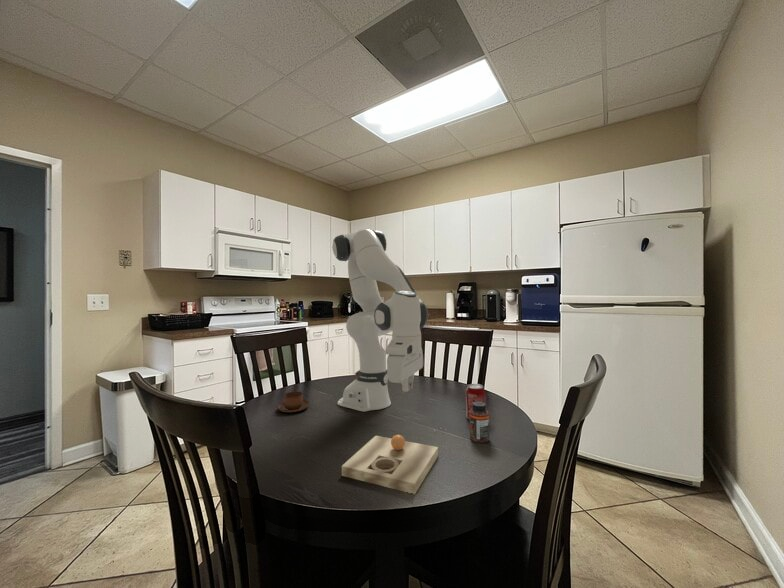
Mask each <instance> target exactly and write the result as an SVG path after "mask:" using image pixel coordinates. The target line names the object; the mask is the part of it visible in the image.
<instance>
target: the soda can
mask: <svg viewBox="0 0 784 588" xmlns="http://www.w3.org/2000/svg"><path fill="white" fill-rule="evenodd" d="M473 402H483V403H485V404H486V390H485V389H484V385H482V384H480V383H470V384H468V385H467V387H466V389H465V403H466V404H465V406H466V407H465V408H466V409H465V410H466V411H465V412H466V415H465V416H466V418H467V419H468V420H470V410H471V409H472V408H473V407H472V406H473Z"/></svg>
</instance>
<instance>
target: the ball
mask: <svg viewBox="0 0 784 588" xmlns="http://www.w3.org/2000/svg"><path fill="white" fill-rule="evenodd" d="M405 441H406V439H405V438H404V436H403V435H401V434H395V435H393V436H392V439H391V445H392V447H393V448H394V449H395V450H401V449H403V447H404V446H405Z"/></svg>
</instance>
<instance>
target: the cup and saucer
mask: <svg viewBox="0 0 784 588" xmlns="http://www.w3.org/2000/svg"><path fill="white" fill-rule="evenodd" d="M303 395H304V394H303V392H301V391H290V392H287V393H284V394H283V402H281V403H279V404H278V405H277V408H278V410H279V411H280V412H283V413H298V412H301V411H304V410H305V409H307V407H309V404H310V403H309V401H307V400H304V399H303V397H304V396H303ZM302 405H305V407H304V408H301V409H299V408H300V407H301V406H302ZM282 406H285V408H286V409H288V410H281V409H280V408H281V407H282ZM297 411H298V412H297Z"/></svg>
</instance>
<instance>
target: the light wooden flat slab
mask: <svg viewBox="0 0 784 588" xmlns="http://www.w3.org/2000/svg"><path fill="white" fill-rule="evenodd" d="M392 438H393V437H392ZM392 438H391V437H385V436H382V435H381V436H380V435H375V436H374V437H372V438H371V439H370V440H368V441H367V443H365V444H364V445H363V446H362V447H361V448H360V449H359V450H357V451H356V452H355V453H354V454H353V455H352V456H351V457H350V458H349V459H347V461H345V463H343V464H342V465H341V477H346V478H350V479H353V480H357V481H362V482H365V483H369V484H373V485H376V486H382V487H385V488H389V489H392V490H396V491H400V492H404V493H407V492H408V493H407V494H411V493H413V494H412V495H416V493H417V492H418V490H419V489H420V486H421V485H422V483H423V481H425V479H426V477H427V475H428V474H429V472H430V470H431V469H432V467H433V466H434V464H435V462H436V461H437V458H439V447H438V446H434V445H429V444H423V443H418V442H412V441H407V440H405V446H404V447H403V449H401V450H395V449H394V448H393V447H392V445H391V439H392Z"/></svg>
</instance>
